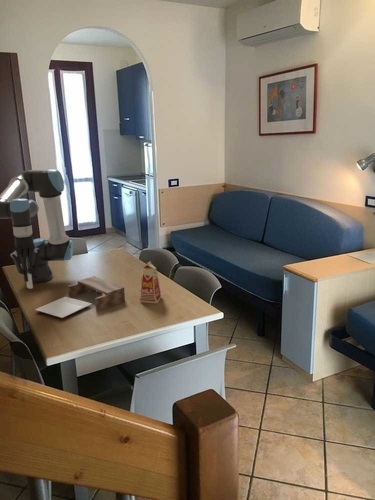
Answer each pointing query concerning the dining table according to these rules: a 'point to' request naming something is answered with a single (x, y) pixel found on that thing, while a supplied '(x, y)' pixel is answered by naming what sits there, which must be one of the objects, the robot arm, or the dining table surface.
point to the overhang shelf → (99, 291)
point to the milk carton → (150, 285)
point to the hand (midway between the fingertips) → (29, 287)
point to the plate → (63, 307)
